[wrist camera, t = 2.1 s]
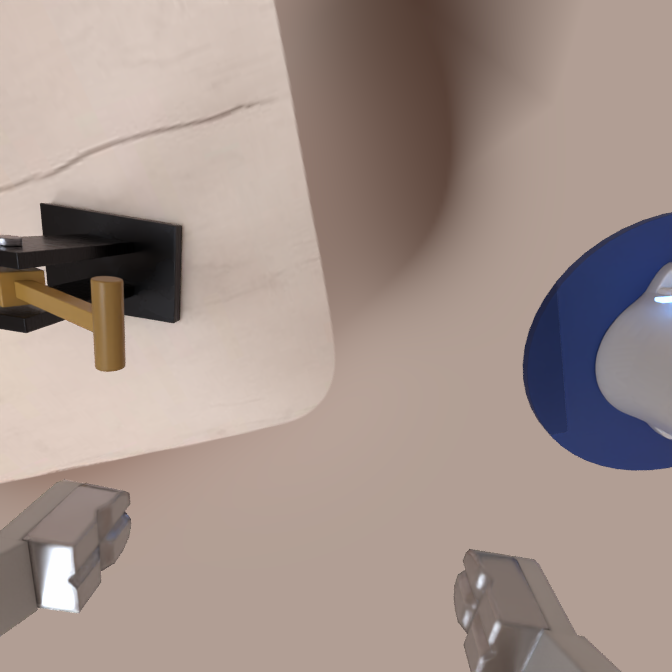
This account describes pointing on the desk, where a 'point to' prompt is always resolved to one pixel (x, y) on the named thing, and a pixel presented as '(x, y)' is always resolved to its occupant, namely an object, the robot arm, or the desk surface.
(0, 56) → the desk surface
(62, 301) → the lever
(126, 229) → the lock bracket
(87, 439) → the desk surface
